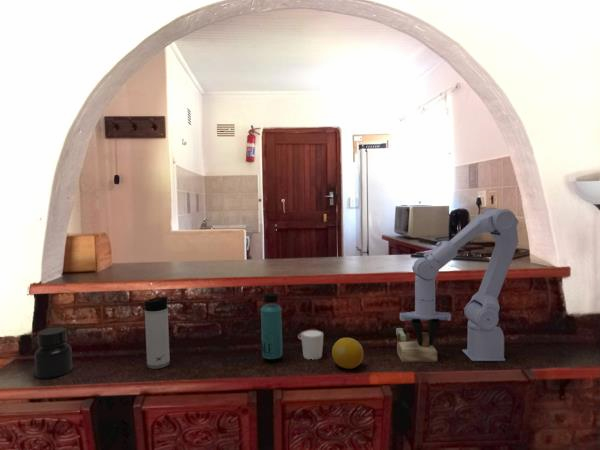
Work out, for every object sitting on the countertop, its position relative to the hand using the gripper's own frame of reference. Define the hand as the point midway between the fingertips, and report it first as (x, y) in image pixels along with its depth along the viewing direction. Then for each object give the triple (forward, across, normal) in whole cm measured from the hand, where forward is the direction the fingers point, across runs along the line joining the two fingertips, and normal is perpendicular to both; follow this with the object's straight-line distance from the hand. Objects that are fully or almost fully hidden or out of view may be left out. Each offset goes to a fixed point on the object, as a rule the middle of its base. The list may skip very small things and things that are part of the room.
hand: (425, 344), depth 118 cm
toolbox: (+4, +2, 0) cm, 5 cm away
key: (0, +6, -7) cm, 9 cm away
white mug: (+4, +34, -2) cm, 34 cm away
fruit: (+4, +24, +6) cm, 25 cm away
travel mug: (+4, +78, +4) cm, 79 cm away
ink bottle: (+4, +106, +10) cm, 107 cm away
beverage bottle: (+4, +46, +2) cm, 46 cm away
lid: (+1, +2, 0) cm, 3 cm away
